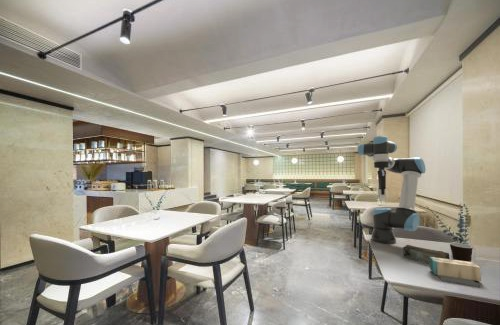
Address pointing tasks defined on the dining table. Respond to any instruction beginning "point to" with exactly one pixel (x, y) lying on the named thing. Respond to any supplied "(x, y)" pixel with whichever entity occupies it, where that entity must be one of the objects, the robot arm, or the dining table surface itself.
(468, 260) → the coffee mug
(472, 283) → the rubber mat
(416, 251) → the beverage carton
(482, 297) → the dining table surface
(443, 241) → the dining table surface
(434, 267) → the oak block
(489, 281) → the dining table surface
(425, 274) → the dining table surface
